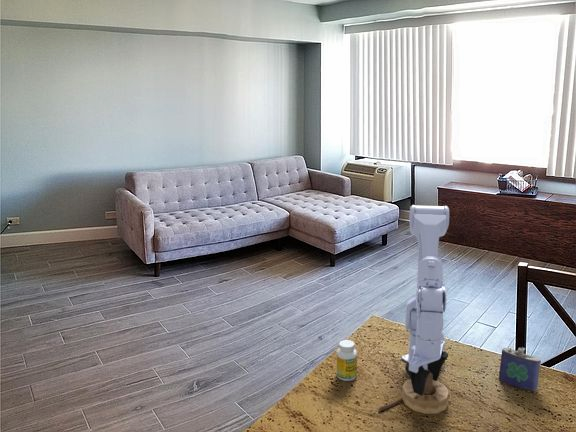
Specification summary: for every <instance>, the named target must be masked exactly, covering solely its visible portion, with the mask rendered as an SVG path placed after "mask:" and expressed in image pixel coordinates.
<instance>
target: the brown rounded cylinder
mask: <svg viewBox="0 0 576 432" xmlns="http://www.w3.org/2000/svg"><path fill="white" fill-rule="evenodd" d="M425 370H427V371H429V370H428V369H425ZM432 381H433V374H432V373H431V372H430V374H429V375H428V377H427V379H426V383H425V388H424V392H423V394H422V395H426V396H427V395H432Z"/></svg>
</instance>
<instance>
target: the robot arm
mask: <svg viewBox="0 0 576 432" xmlns="http://www.w3.org/2000/svg"><path fill="white" fill-rule="evenodd" d="M409 209H410V210H409V232H410V235H412V236H414V237H416V239H417V243H418V254H417V256H418V258H417V281H416V283H417V284H416V293H415V296H414V297H412V298H411V299H409V300H408V301H407V303H406V305H405V306H406V308H405V318H404V325H405V326H404V327H405V329H406V331H408V332H409V337H408V341H409V342H408V353H407V354H405V355H402V356H401V359H402V360H403V361H405V362H406V363H405V366H404V367H405V371H406V373H407V374H408V376H409V379H411V382H412V387H413V391H414V392H415V393H417V394H419V395H422V394H423V392H424V388H425V383H426V379H427V377H428V375H429V374H430V372H431V373H432V374H433V380H434V381H439V377H440V374H441V371H442V369H443V365H444V363H445V361H446V360H447V359H448V357H449V353H448V352H447V351H444V350H445V349H446V342H445V337H444V334H443V333H444V332H443V330H444V329H443V328H444V313H446V308H447V291H446V287H445V284H446V283H444V269H443V263H442V261H441V260H440V259H439V258H438V254H439V242H440V238H441V237H443V236H445V235H446V233H447V231H448V228H449V225H450V208H449V206H448V205H443V206H441V205H417V204H416V205H415V204H412V205H411V206H410V207H409ZM425 369H427V370H429V371H427V370H425Z"/></svg>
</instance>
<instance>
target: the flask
mask: <svg viewBox="0 0 576 432" xmlns="http://www.w3.org/2000/svg"><path fill="white" fill-rule="evenodd" d="M525 351H526V348H525V347H523V346H522V347H518V348H517V350H515V349H512V347H504V348H502V349H501V354H500V355H501V356H500V366H499V372H498V381H499V382H500V383H502V384H503V385H506V386H508V387H511V388H514V389H518V390H520V389H521V391H523V390H525V391H524V392H527V391H530V392H529V393H532V392H536V393H537V391H538V386H539V379H540V368H541V364H542V360H541V358H540V357H538V356H534V355H530V354H526V353H525Z"/></svg>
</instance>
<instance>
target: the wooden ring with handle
mask: <svg viewBox="0 0 576 432" xmlns="http://www.w3.org/2000/svg"><path fill="white" fill-rule="evenodd" d="M401 391H402V393H401V394H402V395H401V397H400V398H397V399H395V400H393V401H391V402H389V403H387V404H384V405H382V406H380V407H379V408H378V412H382V411H385V410H386V409H389V408H391V407H393V406H395V405H397V404H399V403H401V402H404V405H405V406H406V407H408V408H410V409H411V411H412V410H413V411H414V412H419V413H420V414H425V415H431V414H432V415H433V414H439V413H441V412H443V411H446V410H447V407H448V404H449V394H450V393H449V390H448V388H447V387H446V385H445V384H444V383H443V382H440V381H439V380H437V381H434V380H433V381H432V395H427V396H426V395H419V394H417V393H415V392H414V391H413V387H412V382H411V379H410V378H409V379H407V380H405V381H404V383H403V384H402V390H401Z"/></svg>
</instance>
